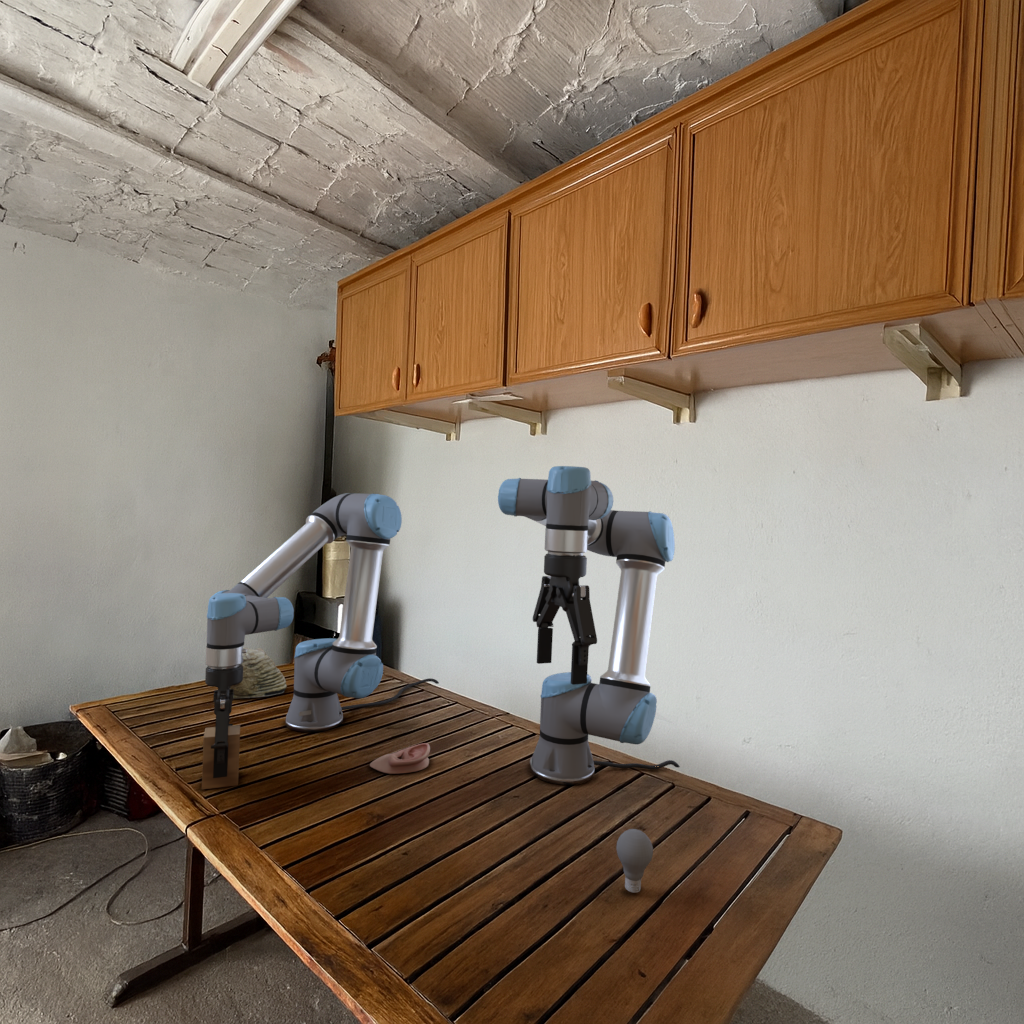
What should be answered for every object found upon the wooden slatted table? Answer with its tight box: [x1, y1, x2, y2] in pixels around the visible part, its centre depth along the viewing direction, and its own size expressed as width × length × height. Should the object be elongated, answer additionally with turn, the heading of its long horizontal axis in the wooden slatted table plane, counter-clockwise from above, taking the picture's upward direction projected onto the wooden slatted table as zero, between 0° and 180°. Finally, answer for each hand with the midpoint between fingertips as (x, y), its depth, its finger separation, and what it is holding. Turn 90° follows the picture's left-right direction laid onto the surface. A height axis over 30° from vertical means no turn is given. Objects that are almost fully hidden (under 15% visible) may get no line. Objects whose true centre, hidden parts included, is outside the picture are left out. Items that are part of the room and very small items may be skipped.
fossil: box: [230, 646, 288, 699], centre depth 198 cm, size 9×18×15 cm, turn 132°
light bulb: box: [615, 828, 654, 894], centre depth 106 cm, size 6×6×10 cm
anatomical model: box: [369, 742, 431, 775], centre depth 151 cm, size 13×4×12 cm
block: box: [201, 724, 241, 790], centre depth 139 cm, size 7×6×11 cm
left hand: (221, 767), depth 139 cm, fingers open, 9 cm apart
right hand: (560, 672), depth 113 cm, fingers open, 13 cm apart
